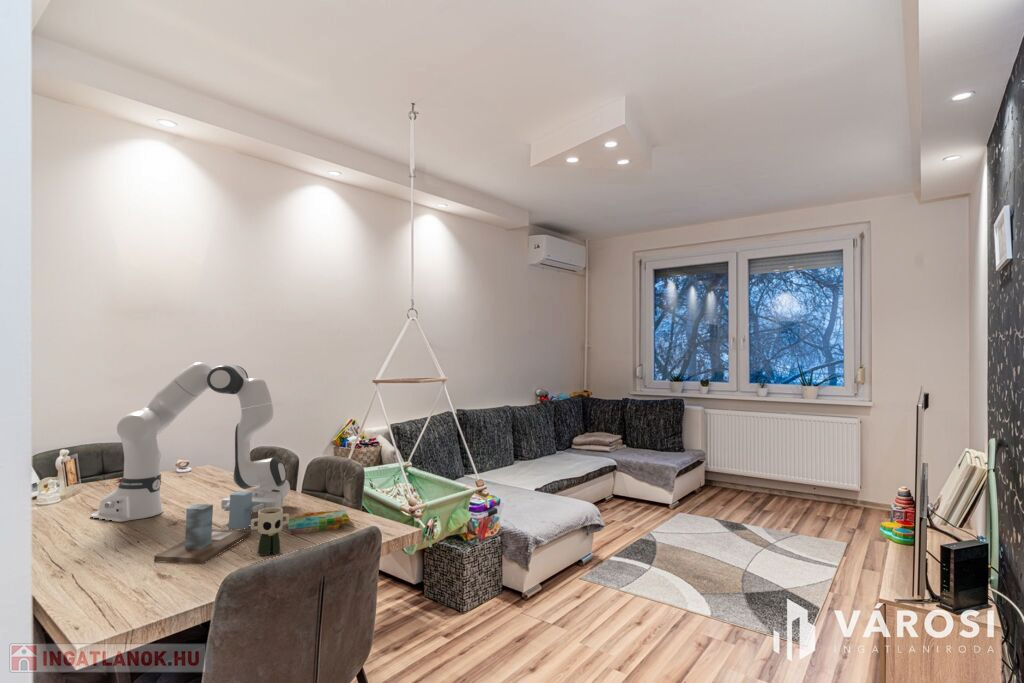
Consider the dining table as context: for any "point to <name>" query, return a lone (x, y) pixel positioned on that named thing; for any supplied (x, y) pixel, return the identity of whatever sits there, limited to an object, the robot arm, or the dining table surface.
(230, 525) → the pillar block
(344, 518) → the puzzle game
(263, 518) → the character mug
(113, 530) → the dining table surface
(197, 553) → the base board
